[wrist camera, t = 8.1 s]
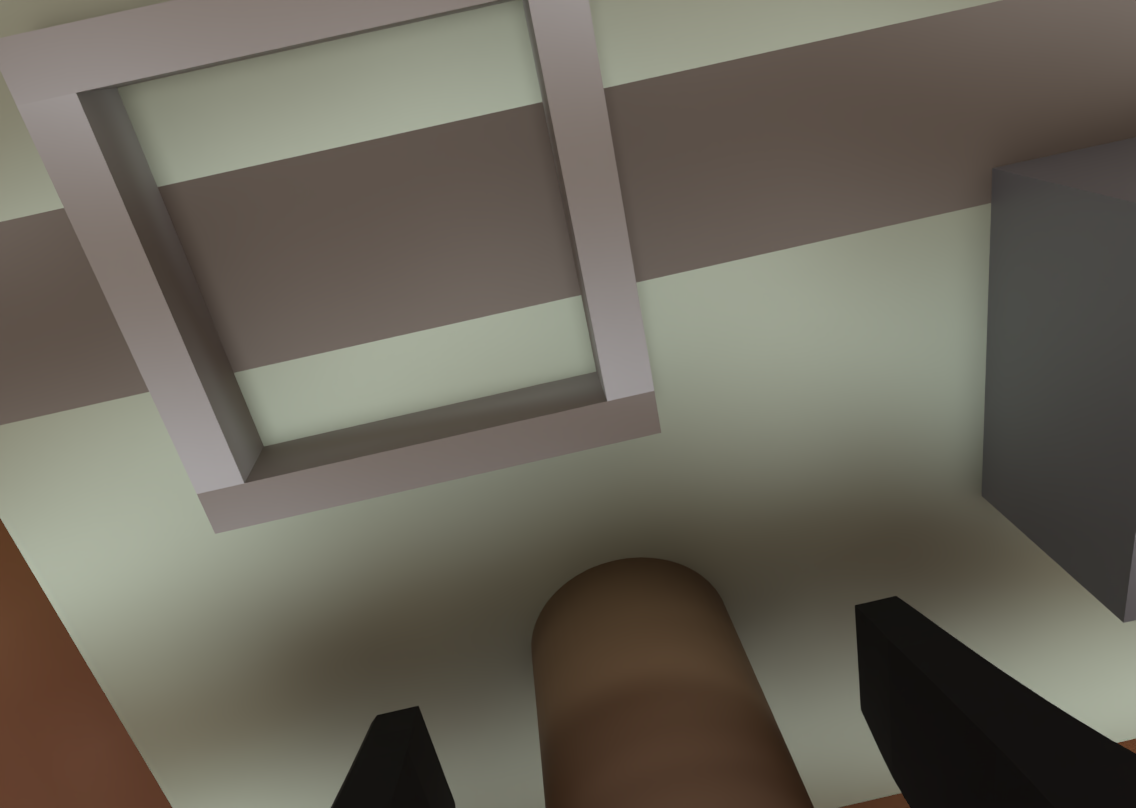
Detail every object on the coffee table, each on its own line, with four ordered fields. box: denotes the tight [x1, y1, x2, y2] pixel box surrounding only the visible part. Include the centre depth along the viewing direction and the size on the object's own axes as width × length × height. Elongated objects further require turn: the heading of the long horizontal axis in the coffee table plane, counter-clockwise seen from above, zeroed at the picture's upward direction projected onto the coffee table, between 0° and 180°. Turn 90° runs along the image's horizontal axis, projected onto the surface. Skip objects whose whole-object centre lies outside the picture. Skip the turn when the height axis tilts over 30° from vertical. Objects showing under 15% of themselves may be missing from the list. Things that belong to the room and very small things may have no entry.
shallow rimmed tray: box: [0, 0, 1136, 808], centre depth 12 cm, size 16×20×2 cm
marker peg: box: [531, 557, 814, 808], centre depth 10 cm, size 3×3×6 cm
